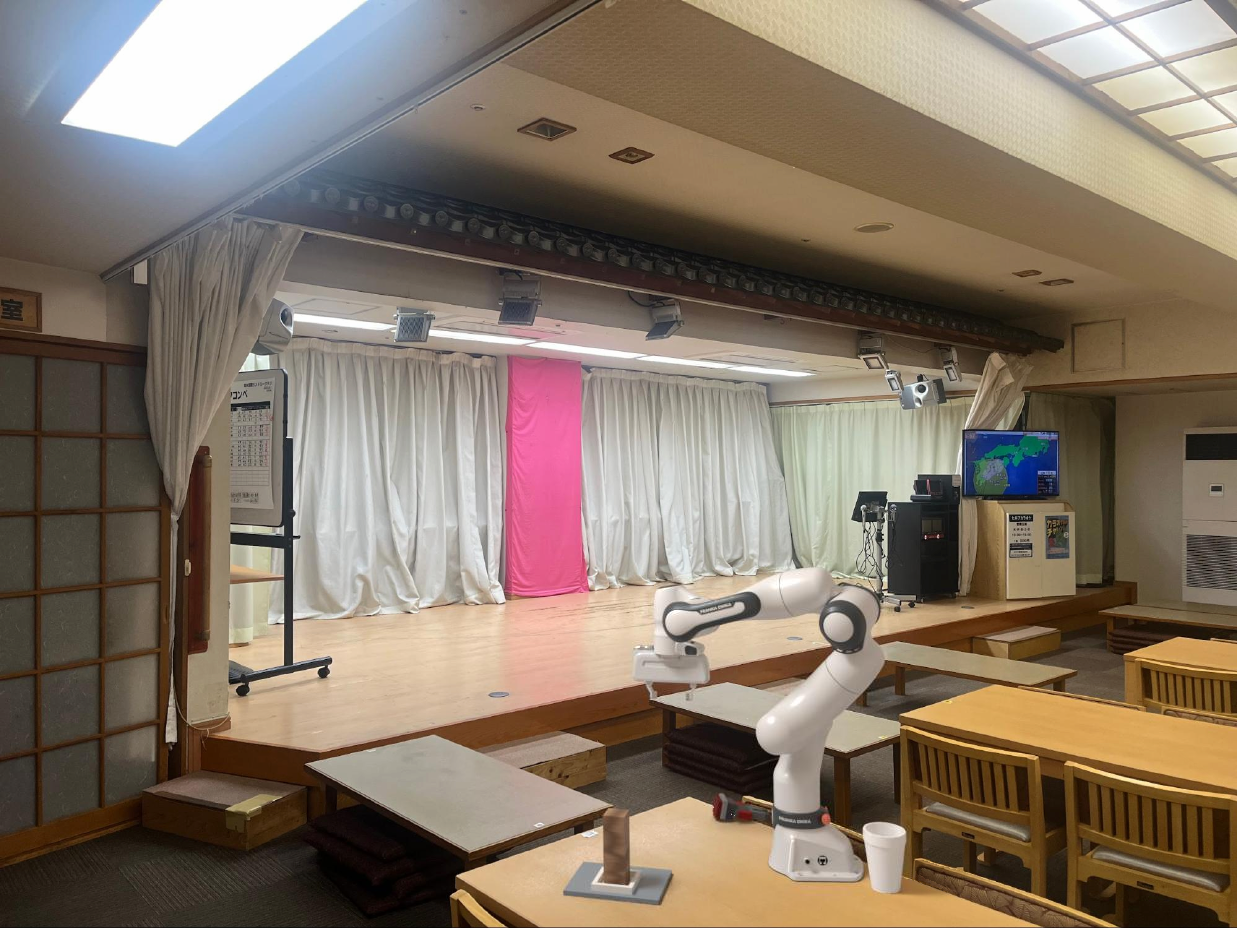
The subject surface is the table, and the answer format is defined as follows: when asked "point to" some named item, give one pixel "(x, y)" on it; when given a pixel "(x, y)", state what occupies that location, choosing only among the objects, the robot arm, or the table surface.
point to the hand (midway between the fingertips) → (671, 699)
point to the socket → (613, 888)
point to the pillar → (616, 846)
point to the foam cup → (885, 855)
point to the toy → (737, 810)
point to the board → (644, 892)
